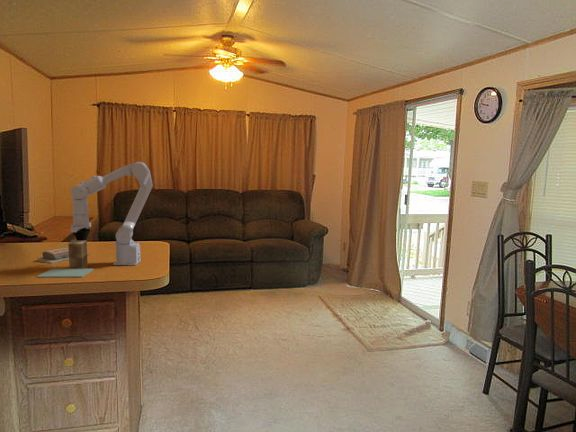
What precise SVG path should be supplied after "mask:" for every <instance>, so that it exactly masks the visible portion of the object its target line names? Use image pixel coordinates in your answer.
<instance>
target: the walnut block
mask: <svg viewBox="0 0 576 432" xmlns="http://www.w3.org/2000/svg"><path fill="white" fill-rule="evenodd" d="M87 240H88V239H87ZM87 240H77V239H75V240H71V241H69V242H67V245H68V246H67V247H68V248H69V260H68V262H69V263H68V265H69V266H68V267H69V268H68V269H87V268H88V267H89V266H88V256H87V254H88V248H87V247H88V245H87V244H88V243H87V242H88V241H87Z"/></svg>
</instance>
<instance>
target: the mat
mask: <svg viewBox="0 0 576 432" xmlns="http://www.w3.org/2000/svg"><path fill="white" fill-rule="evenodd" d="M93 271H94V268H84V269H70V268H50V269H48V270H46V271H45V272H42V273H41V274H39V275H37V276H36V278H39V279H41V278H43V279H44V278H48V279H49V278H83V277H85V276H87V275H88V274H89V273H91V272H93Z"/></svg>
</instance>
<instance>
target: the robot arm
mask: <svg viewBox="0 0 576 432" xmlns="http://www.w3.org/2000/svg"><path fill="white" fill-rule="evenodd" d="M124 176H134V177H135V178H136V179H137V181H138V184H139V185H140V186H139V189H138V192H137V194H136V196H135V198H134V200H133V203H132V204H131V207H130V209H129V210H128V214H126V218H125V219H124V221H123V223H122V225H121V226H120V227H118V230H117V231H116V233H115V239H116V241H115V257H116V258H115V260H116V261H115V262H114V263H113V264H112V265H113V266H137V265H138V264H139V263H140V262H141V261H142V260H141V245H140V243H139V242H135V241H134V240H133V235H134V227H136V223H137V221H138V219H139V217H140V215H141V213H142V210H143V208H144V206H145V204H146V202H147V199H148V197H149V195H150V193H151V191H152V189H153V187H154V185H153V180H152V175H151V170H150V169H149V167H148V165H147V164H146V163H145V162H142V161H136V162H134V163H130V164H126V165H124V166H121V167H120V168H119V167H118V168H117V169H116V170H114V171H112V172H110V173H108V174H106V175H103V176H101V175H92V176H91V178H90V179H87V180H85V181H80V184H77V185H74V186H73V187H72V188H71V189H70V194H71V197H72V221H73V222H72V224H70V232H71V233H72V234H73V236H74V238H75V240H88V237H89V234H90V232H91V227H92V222H90V221H89V220H90V218H89V202H88V196H90V195H91V196H92V195H94V194H95V193H97V192H100V191H102V190H104V189H106V187H107V184H109V183H110V182H113V181H115V180H118V179H120V178H121V177H124Z"/></svg>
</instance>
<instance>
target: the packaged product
mask: <svg viewBox="0 0 576 432" xmlns="http://www.w3.org/2000/svg"><path fill="white" fill-rule="evenodd" d="M88 256H89V253H87V257H88ZM36 259H37V260H36V261H37V262H40V263H41V262H43V263H47V264H57V263H60V262H64V261H69V248H68V246H66V247H61V248H55V249H48V250H44V251H43V252H42V256H41V257H37V258H36Z"/></svg>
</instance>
